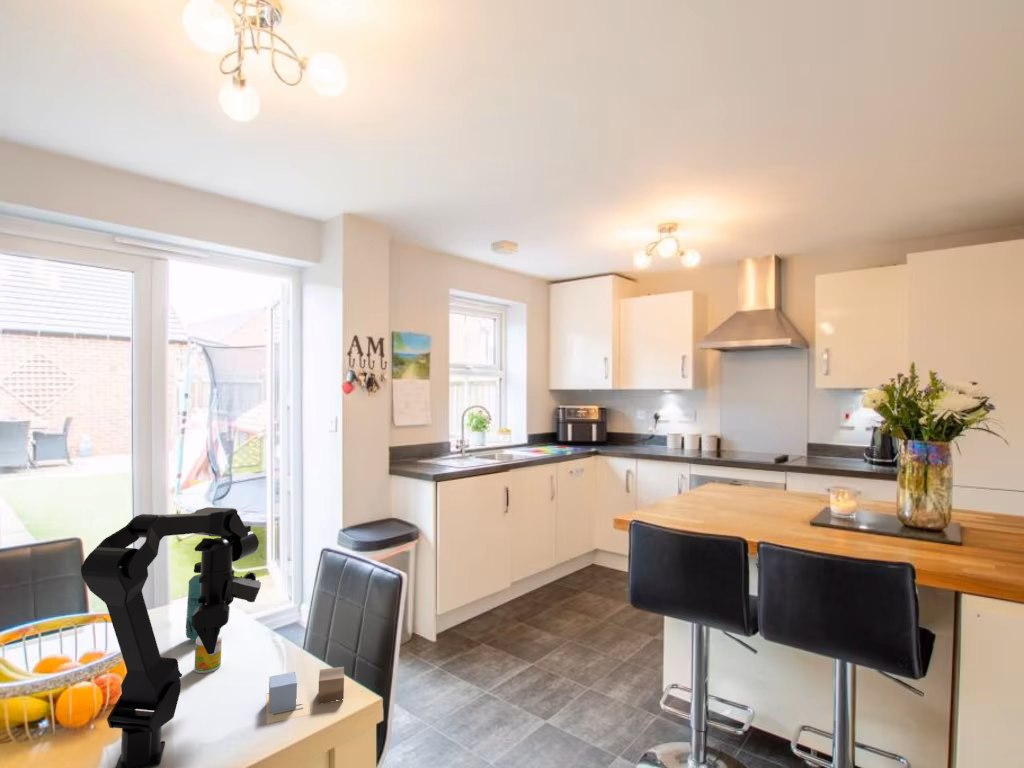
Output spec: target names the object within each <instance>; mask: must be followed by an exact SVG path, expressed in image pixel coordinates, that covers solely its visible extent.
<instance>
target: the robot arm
mask: <svg viewBox="0 0 1024 768" xmlns="http://www.w3.org/2000/svg"><path fill="white" fill-rule="evenodd" d="M192 534H195V535H200V536H208V537H209V538H207V537H203V538H202V540H201V541H200V542H199V543H197V545H196V546H195V547H194V551H195V552H201V560H200V562H201V573H200V574H201V575H200V577H199V583H200V596H199V598H198V604H199V603H202V605H200V606H199V607H198V608H197V609H196V610H195V611H194V613H193V616H192V627H193V628H194V629H195V630H196V632H197V634H198V636H199V637H200V639H201V641H202V643H203V645H204V647H205V649H206V651H207V653H208V654H213V653H214V651H215V647H216V643H217V639H218V635H219V633H220V634H221V628H222V627H224V626H225V625H227V624H228V622H229V620H230V619H229V618H230V612H231V611H230V608H231V606H230V604H232V603H233V602H234V599H239V600H242V601H246V602H249V603H254V602H256V600H257V597H258V594H259V591H260V589H261V586H262V582H261V581H260V579H257V576H256V572H253V571H248V572H247V573H246V574H245V575H243V576H242V575H240V576H238V575H237V576H236V575H235V570H234V569H233V563H234V562H237V561H239V560H242V559H243V558H246V557H247V556H251V555H252V554H254V553H256V551H257V550H258V549H259V548H258V547H259V544H260V542H259V541H260V540H258V539H259V538H258V536H257V534H255V532H253V530H252V526H251V525H245V524H244V522H243V520H242V518H241V517H240V515H239V513H238V509H236V508H233V507H208V506H207V507H203V508H200V509H196V510H195V511H194V512H192V513H175V514H172V513H170V514H150V513H149V514H148V513H141V514H139V515H135V516H134V517H133V518H132V519H131V520H130V521H129V522H128V523H127V524H126V525H125V526H123V527H122V528H121V529H118V530H117V531H115V532H114V533H111V534H110V535H109V536H107V537H105V538H104V539H103V540H102V541H101V542H100V543H99V544H98V545H97V546H96V547H95V548H94V549H93V550H92V551H91V552H90V553H89V554H88V555H87V557H86V558H85V559H84V561H83V564H82V565H81V566H80V567H81V568H80V573H81V578H82V580H83V581H84V583H85V584H86V587H87V588H88V590H89V591H90V592H91V593H92V594H93V595H95V596H96V597H97V598H99V599H100V600H101V601H102V602H103V603H104V604H105V605H106V607H107V612H108V614H109V618H110V620H111V624H112V626H113V627H112V628H113V630H114V634H115V637H116V640H117V643H118V646H119V649H120V652H121V656H122V659H123V661H124V666H125V668H126V673H125V676H124V677H123V679H122V682H121V684H120V688H121V689H120V690H121V694H120V695H119V697H118V699H117V701H116V702H115V705H114V706H113V707H112V710H111V711H110V713H109V714H108V716H107V718H106V721H107V724H108V727H109V729H121V741H120V744H121V745H120V746H121V747H120V748H121V749H120V755H119V757H118V759H117V763H116V766H115V768H151V767H154V766H158V765H161V763H162V758H163V754H164V750H165V747H166V741H165V740H163V741H162V727H164V725H166V724H167V723H168V722H170V721H171V720H173V719H174V717H175V713H176V709H177V706H178V701H179V697H180V694H181V690H182V689H181V688H182V684H181V678H182V676H183V674H182V673H181V672H180V669H179V662H178V660H177V658H173V657H163V656H161V654H160V651H159V646H158V643H157V640H156V636H155V633H154V629H153V625H152V622H151V619H150V615H149V612H148V608H147V605H146V601H145V598H144V594H143V588H144V586H145V584H146V581H147V579H148V577H149V570H148V567H149V566H150V565H151V563H152V562H153V561H154V560H155V559H156V558H157V556H158V555H159V547H160V542H161V541H162V540H163V538H164V537H166V536H167V537H168V536H169V537H170V536H181V535H192ZM210 537H214V538H210ZM215 537H216V538H215ZM140 538H145V541H144V543H142V545H141V546H140V547H139V548H136V547H135V548H134V547H129V546H131V545H132V544H134V543H136V542H137V541H138V540H139V539H140Z"/></svg>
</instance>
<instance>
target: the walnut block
mask: <svg viewBox="0 0 1024 768" xmlns="http://www.w3.org/2000/svg"><path fill="white" fill-rule="evenodd" d="M344 688H345V666H338V667H331V668H330V667H329V668H322V669H319V675H318V693H317V694H318V697H317V699H318V700H317V701H318V702H317V705H322V704H321V703H323V704H327V703H326V702H330V703H332V702H331V701H336V700H342V699H344V697H345V696H344V694H345V692H344V691H345V689H344ZM344 700H345V699H344Z"/></svg>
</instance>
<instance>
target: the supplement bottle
mask: <svg viewBox="0 0 1024 768" xmlns="http://www.w3.org/2000/svg"><path fill="white" fill-rule="evenodd" d="M222 639H223V635H222V634H221V632H220V633H219V635H218V639H217V643H216V647H215V651H214V653H213V654H208V653H207V651H206V649H205V647H204V645H203V643H202V641H201V639H200V637H199V636H198V637H197V639H195V649H194V672H195V673H197V674H207V673H211V672H212V673H213V672H215V671H216V670H217V669H219V668H220V667H221V664H222V641H223V640H222Z"/></svg>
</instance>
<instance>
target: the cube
mask: <svg viewBox="0 0 1024 768" xmlns="http://www.w3.org/2000/svg"><path fill="white" fill-rule="evenodd" d="M268 678H269V681H268V693H269V714H270V713H275V712H279V711H284V710H288V709H293V708H296V699H297V687H298V682H297V675H296V671H292V672H287V673H282V674H281V673H279V674H275V675H270V676H269V677H268Z"/></svg>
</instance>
